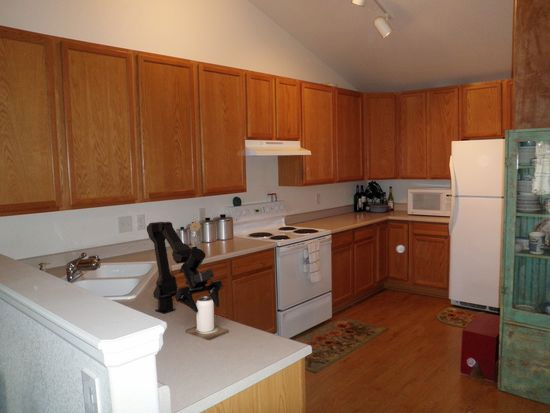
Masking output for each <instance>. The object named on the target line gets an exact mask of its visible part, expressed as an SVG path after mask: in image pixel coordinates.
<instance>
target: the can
mask: <svg viewBox="0 0 550 413" xmlns="http://www.w3.org/2000/svg"><path fill="white" fill-rule="evenodd" d="M195 304H196V306H197V309H198V312H197V313H196V326H197V330H198V331H199V332H210V331H212V330H213V329H214V325H215V307H214V306H215V304H214V302H213V300H212V297H210V296H200V297H198V298H197V300H196V302H195Z"/></svg>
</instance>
